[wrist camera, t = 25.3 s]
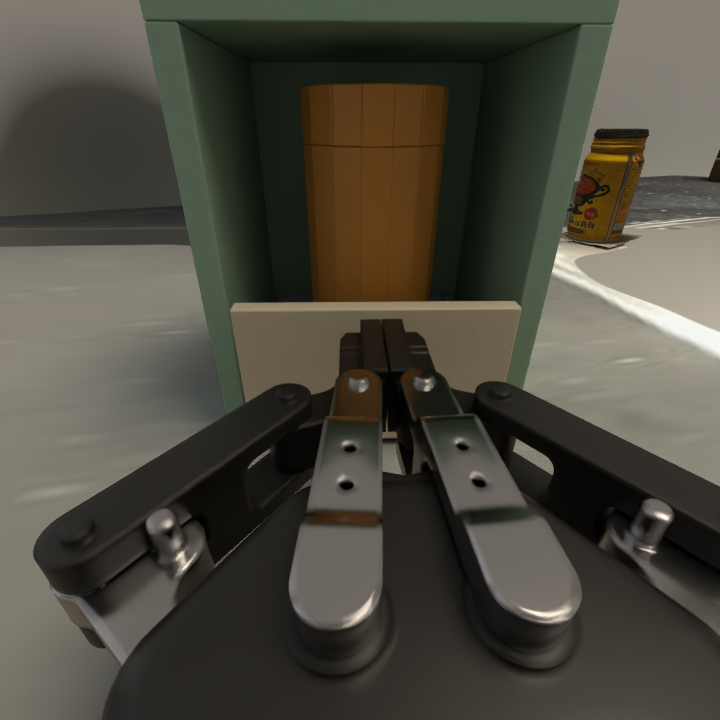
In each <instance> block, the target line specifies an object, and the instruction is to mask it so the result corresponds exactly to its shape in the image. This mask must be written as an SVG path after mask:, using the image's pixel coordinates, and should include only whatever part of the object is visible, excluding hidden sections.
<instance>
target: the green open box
mask: <svg viewBox="0 0 720 720" xmlns="http://www.w3.org/2000/svg"><path fill="white" fill-rule="evenodd" d="M618 4H619V0H140V5H141V10H142V15H143V19H144V20H146V22H145V27H146V32H147V37H148V42H149V46H150V51H151V56H152V61H153V66H154V70H155V75H156V80H157V85H158V89H159V94H160V99H161V104H162V108H163V114H164V118H165V123H166V128H167V132H168V138H169V143H170V147H171V152H172V157H173V162H174V167H175V172H176V176H177V181H178V186H179V191H180V196H181V200H182V205H183V210H184V215H185V220H186V224H187V229H188V234H189V239H190V244H191V249H192V253H193V258H194V263H195V268H196V273H197V277H198V282H199V287H200V292H201V297H202V301H203V306H204V311H205V316H206V321H207V326H208V330H209V335H210V340H211V345H212V350H213V354H214V359H215V364H216V369H217V374H218V378H219V383H220V388H221V393H222V398H223V403H224V407H225V412H226V415H227V414H229V413H230V412H232V411H234V410H235V409H237V408H239V407H240V406H242V405H244V404H245V403H246V402H245V396H244V390H243V385H242V379H241V373H240V367H239V362H238V356H237V350H236V344H235V339H234V333H233V327H232V321H231V316H230V309H231V308H232V306H233V305H234V303H277V302H278V299H279V297H280V295H313V294H312V277H311V261H310V244H309V227H308V211H307V194H306V178H305V161H304V144H305V143H304V142H303V128H302V111H301V95H300V87H304V86H309V85H321V84H343V83H394V84H395V83H405V84H428V85H440V86H445V87H448V88H449V100H448V110H447V121H446V131H445V142H444V143H443V144H444V153H443V164H442V174H441V185H440V195H439V206H438V216H437V227H436V237H435V248H434V258H433V269H432V279H431V290H430V294H451V295H452V297H453V299H454V301H516V302H517V304H518V305H519V306H520V307H521V309H522V310H521V314H520V319H519V324H518V328H517V333H516V337H515V342H514V346H513V351H512V355H511V360H510V364H509V369H508V373H507V378H506V382H505V383H509V384H511V385H514V386H516V387H518V388H520V389H523V385H524V381H525V377H526V373H527V369H528V365H529V361H530V357H531V353H532V349H533V345H534V341H535V337H536V333H537V329H538V325H539V321H540V317H541V313H542V309H543V305H544V301H545V297H546V293H547V289H548V285H549V281H550V277H551V273H552V269H553V265H554V261H555V257H556V253H557V249H558V245H559V241H560V237H561V233H562V228H563V225H564V221H565V217H566V213H567V209H568V204H569V200H570V196H571V192H572V188H573V184H574V180H575V176H576V172H577V168H578V164H579V160H580V156H581V152H582V148H583V144H584V140H585V136H586V132H587V128H588V124H589V120H590V116H591V112H592V108H593V104H594V100H595V96H596V92H597V88H598V83H599V80H600V76H601V72H602V68H603V63H604V60H605V56H606V52H607V48H608V43H609V39H610V36H611V32H612V27H613V25H611V24H613V23H614V20H615V16H616V12H617V8H618Z"/></svg>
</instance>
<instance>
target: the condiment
mask: <svg viewBox="0 0 720 720" xmlns="http://www.w3.org/2000/svg"><path fill="white" fill-rule="evenodd" d="M594 136H595V137H594V141H593V143H592V145H591V153H589V154H588V155H587V157H586V158H585V161H584V164H583V168H582V172H581V176H580V180H579V184H578V188H577V192H576V196H575V200H574V203H573V208H572V212H571V215H570V219H569V224H568V228H567V230H568V232H564V233H561V237H560V238H564V239H568V240H572V241H576V242H581V243H586V244H593V245H599V246H604V247H608V248H611V247H614V246H618V245H621V244H623V243H626V242H628V241H630V240H634V239H637V238H639V237H641V236H639V235H629V234H622V230H623V228H624V225H625V222H626V218H627V215H628V212H629V208H630V205H631V202H632V199H633V196H634V192H635V189H636V186H637V183H638V180H639V177H640V174H641V170H642V167H643V164H644V157H643V151H644V149H645V143H646V139H647V137H648V136H649V130H648V129H598V130H597V131H596V133H595V134H594Z"/></svg>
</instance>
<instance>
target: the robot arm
mask: <svg viewBox="0 0 720 720" xmlns="http://www.w3.org/2000/svg"><path fill="white" fill-rule="evenodd" d="M386 420H387V428H388V432H396V434H397V442H396V452H397V456H398V460H399V464H400V468H401V472H402V475H399V474H393V473H387V472H382V432H386ZM516 438H517V439H518V440H520V441H522V442H524V443H525V444H527V445H529V446H530V447H532V448H534V449H536V450H537V451H539V452H541V453H542V454H544V455H545V456H547V457H548V458H549V459H550V461H551V462H552V464H553V466H554V473H553V475H551V474H549V473H548V472H546V471H544V470H543V469H541V468H539V467H538V466H536V465H535V464H533V463H531V462H530V461H528V460H526V459H525V458H523V457H521V456H520V455H518V454H517V453H515V452H513V449H514V445H515V441H516ZM269 448H270V453H269V454H268V455H266V456H265V457H264V458H262V459H261V460H260V461H258V462H257V463H256V464H254V465H253V466H252V467H250V468H249V469H248V467H249V465H250V464H251V462H252V461H253V460H254V459H255V458H257V457H258V456H259V455H261V454H262V453H263V452H265V451H266V450H267V449H269ZM247 469H248V470H247ZM312 476H313V479H312V484H311V486H309V487H307V488H304V489H302V490H301V491H299V492H297V493H295V492H296V491H297V490H298V489H299V488H301V487H302V486H303V485H304V484H305V483H306V482H307V481H308V480H309V479H311V478H312ZM294 493H295V494H294ZM293 494H294V495H293ZM292 495H293V496H292ZM289 497H290V498H289ZM270 514H271V515H270ZM269 515H270V516H269ZM268 516H269V517H268ZM267 517H268V518H267ZM266 518H267V519H266ZM265 519H266V520H265ZM264 520H265V521H264ZM263 521H264V522H263ZM262 522H263V523H262ZM260 523H262V524H261V525H260V526H259V527H258V528H256V527H257V526H258V525H259V524H260ZM255 528H256V529H255ZM254 529H255V530H254ZM253 530H254V531H253ZM252 531H253V532H252ZM250 532H252V533H251V534H250V535H249V536H248V537H247V538H246V539H245V540H244V541H243V542H242V543H241V544H240V545H239V546H238V547H237V548H236V549H235V550H233V551H232V552H231V553H230V554H229V555H228V556H227V557H226V558H225V559H224V560H223V561H222V562H221V563H220V564H219V565H218V566H217V567H216V568H215V569H214V565H215V564H216V563H217V562H218V561H219V560H220V559H221V558H223V557H224V556H225V555H226V554H227V553H228V552H229V551H230V550H231V549H233V548H234V547H235V546H236V545H237V544H238V543H239V542H240V541H242V540H243V539H244V538H245V537H246V536H247V535H248V534H249V533H250ZM33 556H34V559H35V561H36V562H37V564H38V565H39V567H40V568H41V570H42V571H43V573H44V574H45V576H46V578H47V579H48V581H49V585H50V588H51V590H52V592H53V593H54V595H55V596H56V598H57V599H58V601H59V602H60V604H61V605H62V607H63V608H64V610H65V611H66V613H67V614H68V616H69V617H70V619H71V620H72V622H73V623H74V624H76V625H77V626H79V628H80V629H81V631H82V632H83V634H84V635H85V637H86V638H87V640H88V641H89V643H90V644H92V645H93V646H95V647H97V648H107V650H108V651H109V652H110V654H111V655H112V656H113V658H114V659H115V661H116V662H117V663H118V665H119V666H120V667H121V669H120V671H119V673H118V675H117V677H116V679H115V681H114V683H113V685H112V687H111V690H110V692H109V695H108V698H107V701H106V704H105V708H104V712H103V716H102V720H720V487H719V486H717V485H715V484H713V483H711V482H709V481H707V480H705V479H703V478H701V477H699V476H697V475H695V474H693V473H691V472H689V471H687V470H685V469H683V468H681V467H679V466H677V465H675V464H673V463H670V462H668V461H666V460H664V459H662V458H660V457H658V456H656V455H654V454H652V453H650V452H648V451H646V450H644V449H642V448H640V447H638V446H636V445H634V444H632V443H630V442H628V441H626V440H624V439H622V438H620V437H618V436H616V435H613V434H611V433H609V432H607V431H605V430H603V429H601V428H599V427H597V426H595V425H593V424H591V423H589V422H587V421H585V420H583V419H581V418H579V417H577V416H575V415H573V414H571V413H569V412H567V411H565V410H563V409H561V408H558V407H556V406H554V405H552V404H550V403H548V402H546V401H544V400H542V399H540V398H538V397H536V396H534V395H532V394H530V393H528V392H526V391H524V390H522V389H520V388H518V387H516V386H514V385H511V384H509V383H505V382H500V381H487V382H483V383H481V384H479V385H478V386H477V387H476V389H475V393H471V392H465V391H460V390H456V389H453V388H451V387H450V386H449V384H448V382H447V380H446V378H445V377H444V376H443V375H442V374H440V373H438V372H436V370H435V367H434V364H433V361H432V359H431V356H430V354H429V350H428V348H427V344H426V341H425V339H424V338H423V337H422V336H421V335H420V334H418V333H417V332H405V329H404V325H403V321H402V319H382V320H381V321H380V319H360V332H357V333H345V334H344V336H343V337H342V338H341V339H340V355H339V376H338V377H337V378H336V381H335V386H333V387H332V388H331V389H329V390H327V391H324V392H321V393H317V394H312V395H311V392H310V390H309V389H308V388H307V387H305V386H303V385H300V384H295V383H285V384H280V385H276V386H274V387H272V388H270V389H268V390H266V391H265V392H263V393H262V394H260V395H258V396H257V397H255V398H253V399H252V400H250V401H248V402H247V403H245V404H244V405H242V406H240V407H239V408H237V409H235V410H234V411H232V412H230V413H229V414H227V415H226V416H224V417H222V418H221V419H219V420H217V421H216V422H214V423H212V424H211V425H209V426H208V427H206V428H204V429H203V430H201V431H199V432H198V433H196V434H194V435H193V436H191V437H190V438H188V439H186V440H185V441H183V442H181V443H180V444H178V445H176V446H175V447H173V448H172V449H170V450H168V451H167V452H165V453H163V454H162V455H160V456H159V457H157V458H155V459H154V460H152V461H150V462H149V463H147V464H145V465H144V466H142V467H141V468H139V469H137V470H136V471H134V472H132V473H131V474H129V475H127V476H126V477H124V478H123V479H121V480H119V481H118V482H116V483H114V484H113V485H111V486H109V487H108V488H106V489H105V490H103V491H101V492H100V493H98V494H96V495H95V496H93V497H91V498H90V499H88V500H87V501H85V502H83V503H82V504H80V505H78V506H77V507H75V508H73V509H72V510H70V511H69V512H67V513H65V514H64V515H62V516H61V517H59V518H58V519H56V520H55V521H54V522H52V523H51V524H50V525H49V526H48V527H47V528H46V529H45V530H44V531H43V532H42V533H41V535H40V536H39V538H38V539H37V541H36V543H35V546H34V550H33Z"/></svg>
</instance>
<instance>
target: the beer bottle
mask: <svg viewBox="0 0 720 720" xmlns="http://www.w3.org/2000/svg"><path fill="white" fill-rule="evenodd" d="M709 180H711V181H714V182H720V150H719V153H718V155H717V158H716V160H715V163H714V165H713V168H712V170H711V173H710V176H709Z"/></svg>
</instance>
